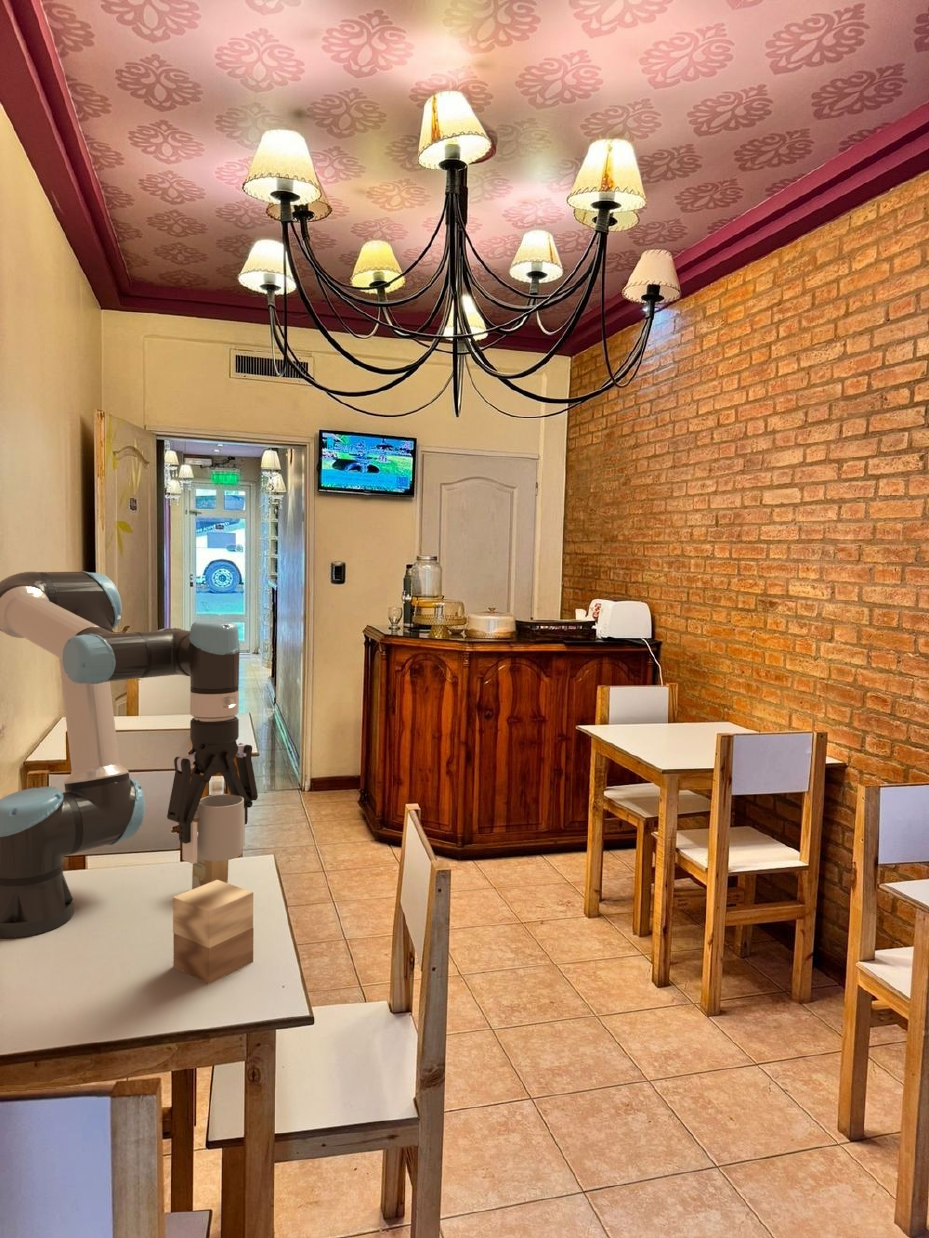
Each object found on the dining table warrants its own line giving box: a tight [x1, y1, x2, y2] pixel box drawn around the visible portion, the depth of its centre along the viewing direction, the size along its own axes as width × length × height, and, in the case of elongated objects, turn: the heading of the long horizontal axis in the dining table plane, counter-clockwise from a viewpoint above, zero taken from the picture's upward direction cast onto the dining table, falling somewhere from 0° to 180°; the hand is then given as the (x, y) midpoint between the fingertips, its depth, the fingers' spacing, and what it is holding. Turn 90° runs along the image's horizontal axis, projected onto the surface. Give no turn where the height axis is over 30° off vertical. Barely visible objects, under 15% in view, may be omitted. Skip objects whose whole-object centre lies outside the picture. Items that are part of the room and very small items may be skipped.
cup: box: [193, 793, 245, 861], centre depth 132 cm, size 7×10×9 cm
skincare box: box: [191, 831, 229, 890], centre depth 162 cm, size 6×4×12 cm
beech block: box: [172, 880, 254, 948], centre depth 133 cm, size 9×9×6 cm
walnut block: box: [173, 927, 254, 985], centre depth 134 cm, size 9×9×6 cm
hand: (214, 852), depth 132 cm, fingers closed on cup, 9 cm apart
